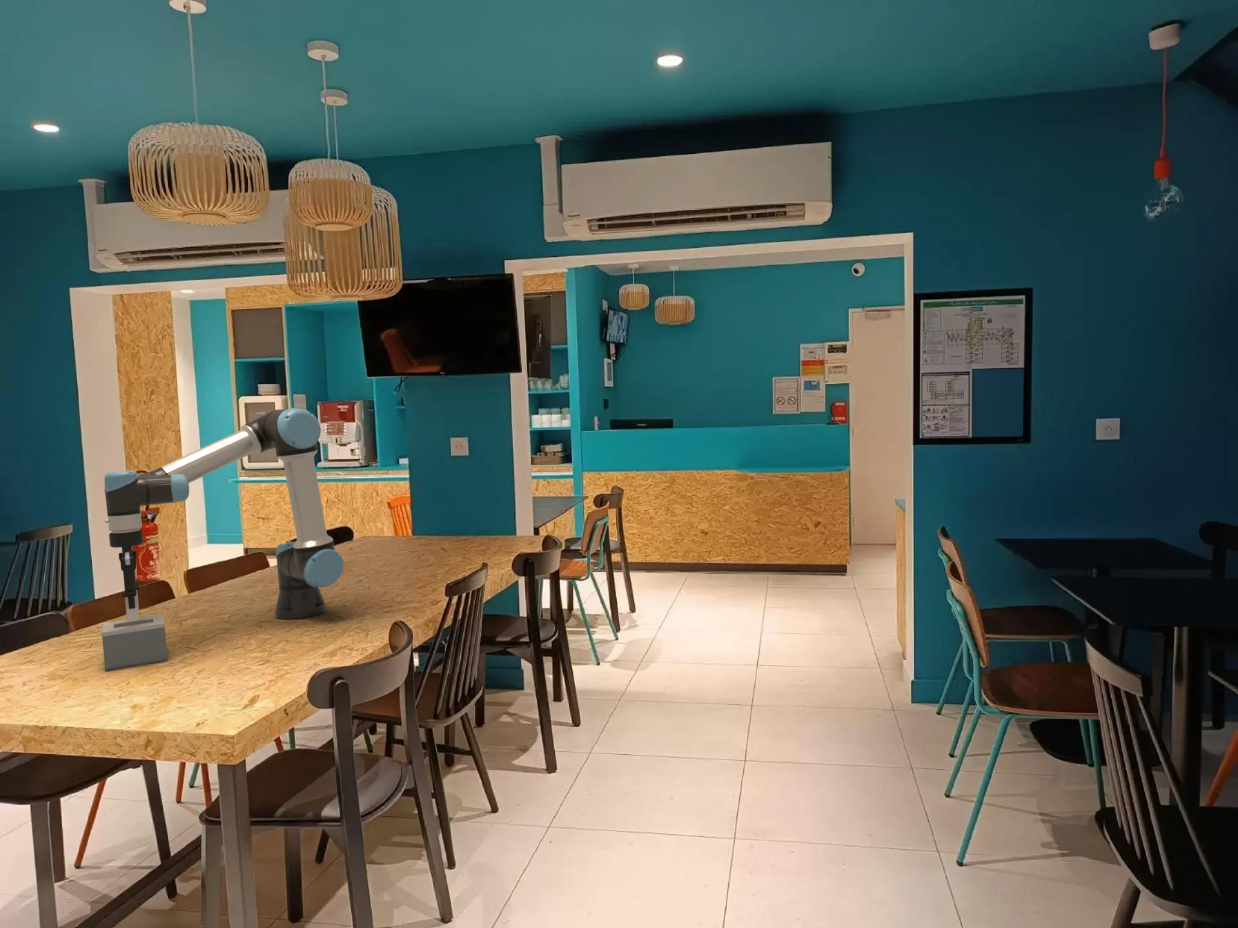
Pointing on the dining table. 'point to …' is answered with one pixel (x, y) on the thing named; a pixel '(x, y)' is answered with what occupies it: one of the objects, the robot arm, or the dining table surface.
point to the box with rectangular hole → (134, 642)
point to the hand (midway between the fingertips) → (133, 617)
